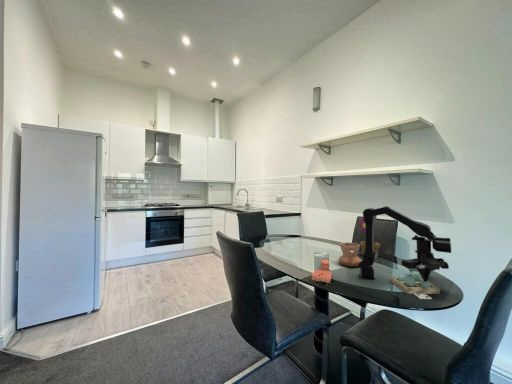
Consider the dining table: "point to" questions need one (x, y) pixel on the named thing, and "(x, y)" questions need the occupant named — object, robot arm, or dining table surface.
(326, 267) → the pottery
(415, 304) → the dining table surface
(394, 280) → the board
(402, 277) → the button
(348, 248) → the ceramic jug
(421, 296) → the card
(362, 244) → the flowerpot
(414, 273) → the button
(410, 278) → the button
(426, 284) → the button
